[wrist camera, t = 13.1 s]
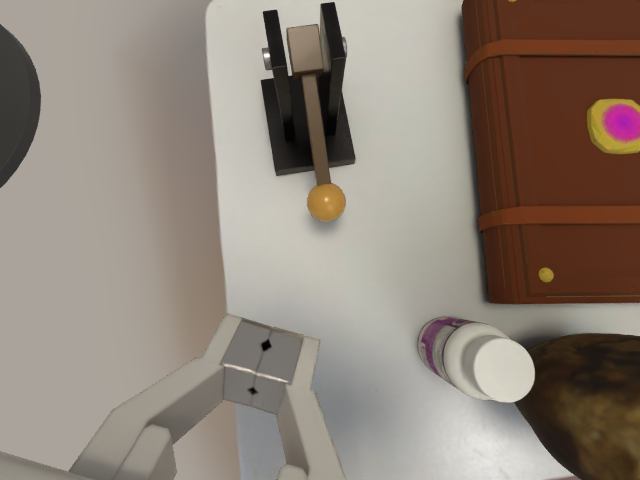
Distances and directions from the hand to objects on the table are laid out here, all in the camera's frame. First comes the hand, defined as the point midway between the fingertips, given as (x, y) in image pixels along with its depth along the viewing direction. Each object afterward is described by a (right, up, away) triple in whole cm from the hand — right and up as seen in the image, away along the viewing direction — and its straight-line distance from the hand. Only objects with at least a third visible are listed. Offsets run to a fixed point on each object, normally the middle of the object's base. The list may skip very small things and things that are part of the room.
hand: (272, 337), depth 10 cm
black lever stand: (0, +15, +23) cm, 27 cm away
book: (+28, +13, +23) cm, 39 cm away
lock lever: (+1, +12, +16) cm, 20 cm away
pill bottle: (+13, -7, +20) cm, 25 cm away
